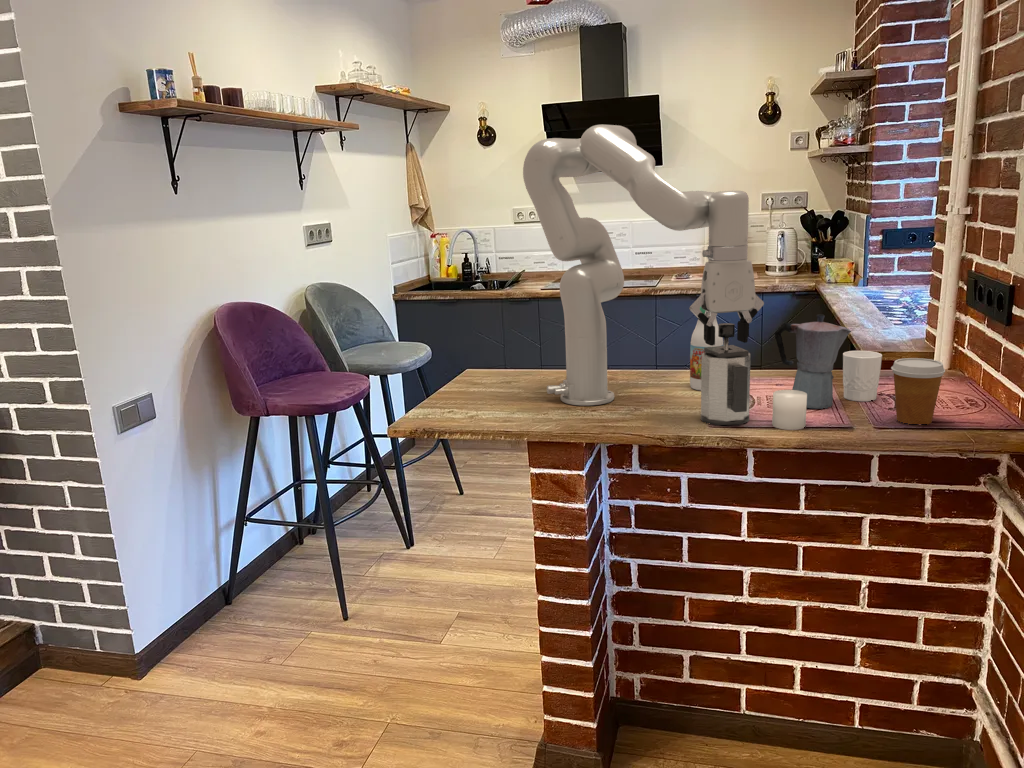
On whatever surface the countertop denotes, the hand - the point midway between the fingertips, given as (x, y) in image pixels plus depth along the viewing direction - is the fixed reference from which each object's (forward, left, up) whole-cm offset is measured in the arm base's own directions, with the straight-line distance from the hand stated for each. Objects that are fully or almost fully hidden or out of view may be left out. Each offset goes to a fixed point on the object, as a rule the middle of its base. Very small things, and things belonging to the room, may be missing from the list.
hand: (726, 342), depth 163 cm
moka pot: (+22, +4, -17) cm, 28 cm away
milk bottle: (+8, +26, -17) cm, 32 cm away
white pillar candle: (+10, -8, -17) cm, 21 cm away
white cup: (+35, +5, -17) cm, 39 cm away
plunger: (0, 0, -10) cm, 10 cm away
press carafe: (0, -1, -16) cm, 16 cm away
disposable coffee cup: (+34, -14, -17) cm, 40 cm away
